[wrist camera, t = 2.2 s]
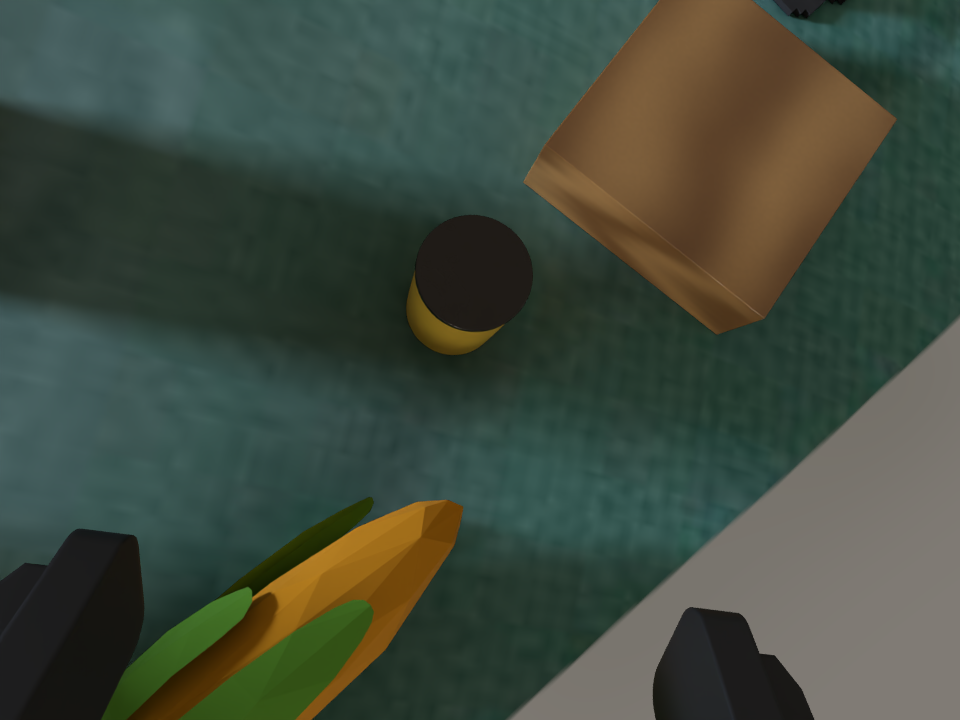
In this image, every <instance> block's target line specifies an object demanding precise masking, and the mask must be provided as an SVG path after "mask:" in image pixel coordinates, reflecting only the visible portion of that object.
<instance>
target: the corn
mask: <svg viewBox="0 0 960 720" xmlns="http://www.w3.org/2000/svg"><path fill="white" fill-rule="evenodd" d="M373 503H374V501H373V498H372V497H368V498H366V499H364V500H362V501H360V502H358V503H355V504H353V505H351V506H349V507H347V508H345V509H343V510H341V511H340V512H338V513H336V514H334V515H332V516H331V517H329V518H327V519H325V520H324V521H322V522H320V523H318V524H316V525H315V526H313V527H311V528H309V529H307V530H306V531H304V532H303V533H301V534H300V535H299V536H297V537H296V538H295V539H293V540H292V541H290V542H289V543H288V544H286V545H285V546H284V547H282V548H281V549H280V550H278V551H277V552H276V553H274V554H273V555H272V556H270V557H269V558H268V559H266V560H265V561H264V562H262V563H261V564H259V565H258V566H257V567H255V568H254V569H253V570H251V571H250V572H249V573H247V574H246V575H245V576H243V577H242V578H241V579H239V580H238V581H237V582H236V583H235V584H233V585H232V586H231V587H230V588H229V589H228V590H226V591H225V592H224V593H223V594H222V595H221V596H219V597H218V598H217V599H216V600H215V601H213V602H211V603H209V604H208V605H206V606H205V607H203V608H202V609H200V610H199V611H197V612H196V613H194V614H193V615H191V616H190V617H188V618H187V619H185V620H184V621H182V622H181V623H179V624H178V625H176V626H175V627H173V628H172V629H170V630H169V631H167V632H166V633H165V634H164V635H163V636H162V637H161V638H160V639H159V640H158V641H156V642H155V643H154V644H153V645H152V646H151V647H150V648H149V649H148V650H147V651H145V652H144V653H143V654H142V655H141V656H140V657H139V658H138V659H137V660H136V661H135V662H133V663H132V664H131V665H130V666H129V667H128V668H127V669H126V670H125V671H124V673H123V675H122V677H121V679H120V681H119V683H118V686H117V688H116V690H115V692H114V694H113V696H112V698H111V700H110V702H109V704H108V706H107V708H106V711H105V713H104V715H103V717H102V719H101V720H312V719H313V718H314V717H315V716H316V715H317V714H318V713H319V712H320V711H321V710H322V709H323V708H324V707H325V706H326V705H327V704H328V703H330V702H331V701H332V700H333V699H334V698H335V697H336V696H337V695H338V694H339V693H340V692H341V691H342V690H343V689H344V688H345V687H346V686H348V685H349V684H350V683H351V682H352V681H353V680H354V679H355V678H356V677H357V676H358V675H359V674H360V673H361V672H362V671H363V670H364V669H366V668H367V667H368V666H369V665H370V664H371V663H372V662H373V661H374V660H375V659H376V658H377V657H378V656H379V655H380V654H381V653H382V652H384V651H385V650H386V648H387V646H388V645H389V643H390V642H391V640H392V639H393V637H394V636H395V634H396V633H397V631H398V630H399V628H400V627H401V625H402V624H403V622H404V621H405V619H406V618H407V616H408V615H409V613H410V612H411V610H412V609H413V607H414V606H415V604H416V603H417V601H418V600H419V598H420V597H421V595H422V593H423V592H424V590H425V589H426V587H427V586H428V584H429V583H430V581H431V580H432V578H433V577H434V575H435V574H436V572H437V571H438V569H439V568H440V566H441V565H442V563H443V562H444V560H445V559H446V557H447V556H448V554H449V553H450V551H451V550H452V548H453V547H454V545H455V542H456V538H457V534H458V530H459V526H460V522H461V518H462V512H463V506H461V505H458V504H456V503H454V502H451V501H449V500H439V501H422V502H416V503H413V504H411V505H409V506H406V507H404V508H402V509H399V510H397V511H395V512H392V513H390V514H387V515H385V516H383V517H380V518H378V519H376V520H373V521H371V522H369V523H366V524H364V525H362V526H359V527H357V528H355V529H354V530H352V531H351V532H349V533H348V534H346V533H347V532H348V531H349V530H351V529H352V528H353V527H354V526H355V525H356V524H357V523H358V522H359V521H360V520H362V519H363V518H364V517H365V516H366V515H367V514H368V513H369V512H370V510H371V508H372V505H373ZM345 534H346V535H345ZM343 535H345V536H343ZM342 536H343V537H342Z"/></svg>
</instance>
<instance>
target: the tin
mask: <svg viewBox="0 0 960 720" xmlns="http://www.w3.org/2000/svg"><path fill="white" fill-rule="evenodd" d="M532 280H533V270H532V264H531V259H530V256H529V253H528V251H527V249H526V247H525V245H524V244H523V242H522V241H521V239H520V238H519V237H518V236H517V235H516V234H515V233H514V232H513V231H512V230H511V229H510V228H508V227H507V226H506V225H504V224H503V223H501V222H499V221H497V220H494V219H492V218H489V217H485V216H479V215H464V216H459V217H455V218H452V219H449V220H447V221H445V222H443V223H441V224H440V225H439V226H437V227H436V228H435V229H434V230H432V231H431V232H430V233H429V235H428V236H427V237H426V239H425V240H424V242H423V243H422V245H421V247H420V250H419V252H418V255H417V259H416V264H415V271H414V275H413V279H412V282H411V286H410V290H409V294H408V297H407V303H406V313H407V319H408V322H409V325H410V327H411V330H412V331H413V333H414V335H415V336H416V337H417V338H418V340H419V341H421V342H422V343H423V344H424V345H425V346H427V347H428V348H430V349H432V350H433V351H436V352H438V353H442V354H447V355H460V354H465V353H469V352H471V351H473V350H475V349H477V348H479V347H480V346H481V345H483V344H484V343H485V342H486V341H487V340H488V339H489V338H490V337H491V336H493V335H494V334H495V333H496V332H497V331H498V330H499V329H500V328H501V327H502V326H503V325H504V324H505V323H507V322H508V321H510V320H511V319H512V318H513V317H515V316H516V315H517V313H518V312H519V311H520V310H521V309H522V307H523V306H524V305H525V303H526V301H527V299H528V297H529V294H530V291H531V287H532Z"/></svg>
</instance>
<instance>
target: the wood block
mask: <svg viewBox="0 0 960 720" xmlns="http://www.w3.org/2000/svg"><path fill="white" fill-rule="evenodd" d="M896 120H897V119H896V118H895V117H894V116H893V115H892V114H890V113H889V112H888V111H887V110H885V109H884V108H883V107H882V106H881V105H879V104H878V103H877V102H876V101H874V100H873V99H872V98H871V97H870V96H868V95H867V94H866V93H865V92H863V91H862V90H861V89H860V88H859V87H857V86H856V85H855V84H854V83H852V82H851V81H850V80H849V79H848V78H846V77H845V76H844V75H843V74H841V73H840V72H839V71H838V70H837V69H835V68H834V67H833V66H832V65H830V64H829V63H828V62H827V61H826V60H824V59H823V58H822V57H821V56H819V55H818V54H817V53H816V52H815V51H813V50H812V49H811V48H810V47H808V46H807V45H806V44H805V43H804V42H802V41H801V40H800V39H799V38H798V37H796V36H795V35H794V34H793V33H791V32H790V31H789V30H788V29H787V28H785V27H784V26H783V25H782V24H780V23H779V22H778V21H777V20H776V19H774V18H773V17H772V16H771V15H769V14H768V13H767V12H766V11H765V10H763V9H762V8H761V7H760V6H758V5H757V4H756V3H755V2H754V1H752V0H659V1H658V3H657V4H656V5H655V6H654V8H653V9H652V10H651V11H650V13H649V14H648V15H647V16H646V18H645V19H644V20H643V21H642V23H641V24H640V25H639V26H638V28H637V29H636V30H635V32H634V33H633V34H632V35H631V37H630V38H629V39H628V40H627V42H626V43H625V44H624V45H623V47H622V48H621V49H620V50H619V52H618V53H617V54H616V55H615V57H614V58H613V59H612V61H611V62H610V63H609V64H608V66H607V67H606V68H605V69H604V71H603V72H602V73H601V74H600V76H599V77H598V78H597V79H596V81H595V82H594V83H593V84H592V86H591V87H590V88H589V89H588V91H587V92H586V93H585V95H584V96H583V97H582V98H581V100H580V101H579V102H578V103H577V105H576V106H575V107H574V108H573V110H572V111H571V112H570V113H569V115H568V116H567V117H566V118H565V120H564V121H563V122H562V123H561V125H560V126H559V127H558V129H557V130H556V131H555V132H554V134H553V135H552V136H551V137H550V139H549V140H548V141H547V142H546V144H545V145H544V147H543V149H542V150H541V152H540V154H539V156H538V157H537V159H536V161H535V162H534V164H533V166H532V168H531V169H530V171H529V173H528V175H527V176H526V178H525V180H524V183H525V184H526V185H527V186H529V187H530V188H531V189H533V190H534V191H535V192H536V193H538V194H539V195H540V196H541V197H543V198H544V199H545V200H547V201H548V202H549V203H550V204H552V205H553V206H554V207H555V208H557V209H558V210H559V211H560V212H562V213H563V214H564V215H566V216H567V217H568V218H569V219H571V220H572V221H573V222H574V223H576V224H577V225H578V226H579V227H581V228H582V229H583V230H585V231H586V232H587V233H588V234H590V235H591V236H592V237H593V238H595V239H596V240H597V241H599V242H600V243H601V244H602V245H604V246H605V247H606V248H607V249H609V250H610V251H611V252H612V253H614V254H615V255H616V256H618V257H619V258H620V259H621V260H623V261H624V262H625V263H626V264H628V265H629V266H630V267H631V268H633V269H634V270H635V271H637V272H638V273H639V274H640V275H642V276H643V277H644V278H645V279H647V280H648V281H649V282H651V283H652V284H653V285H654V286H656V287H657V288H658V289H659V290H661V291H662V292H663V293H664V294H666V295H667V296H668V297H670V298H671V299H672V300H673V301H675V302H676V303H677V304H678V305H680V306H681V307H682V308H683V309H685V310H686V311H687V312H689V313H690V314H691V315H692V316H694V317H695V318H696V319H697V320H699V321H700V322H701V323H703V324H704V325H705V326H706V327H708V328H709V329H710V330H711V331H713V332H714V333H715V334H717V335H718V334H720V333H723V332H726V331H729V330H732V329H735V328H738V327H741V326H744V325H747V324H750V323H753V322H756V321H759V320H762V319H764V318H765V317H766V316H767V314H768V313H769V311H770V310H771V308H772V307H773V305H774V304H775V302H776V301H777V299H778V298H779V296H780V295H781V293H782V292H783V290H784V289H785V287H786V286H787V284H788V283H789V281H790V280H791V278H792V277H793V275H794V274H795V272H796V271H797V269H798V268H799V266H800V265H801V263H802V262H803V260H804V259H805V257H806V256H807V254H808V253H809V251H810V250H811V248H812V246H813V245H814V243H815V242H816V240H817V239H818V237H819V236H820V234H821V233H822V231H823V230H824V228H825V227H826V225H827V224H828V222H829V221H830V219H831V218H832V216H833V215H834V213H835V212H836V210H837V209H838V207H839V206H840V204H841V203H842V201H843V200H844V198H845V197H846V195H847V194H848V192H849V191H850V189H851V188H852V186H853V185H854V183H855V182H856V180H857V179H858V177H859V176H860V174H861V173H862V171H863V170H864V168H865V167H866V165H867V164H868V162H869V161H870V159H871V158H872V156H873V155H874V153H875V152H876V150H877V149H878V147H879V146H880V144H881V143H882V141H883V140H884V138H885V137H886V135H887V134H888V132H889V131H890V129H891V128H892V126H893V125H894V123H895V122H896Z"/></svg>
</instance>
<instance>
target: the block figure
mask: <svg viewBox="0 0 960 720" xmlns="http://www.w3.org/2000/svg"><path fill="white" fill-rule="evenodd" d="M774 1H775V2H776V3H777V4H778V5H779V7H780V8H781V9H782V10H783V11H784V12H785V13H786V14H787V15H788V16H789V15H790V14H791V13H792V12H793V13H794V14H795V15H796V16H797V17H798V16H799V15H800V14H801V13H802V14H803V15H804V16H805V18H807V17H808V16H809V15H811V14H812V13H813V12H814V11H815V10H816V9H817V8H818V7H819V6H820V5H821V4H822V3H824V2H825V1H826V0H774ZM829 1H830V2H831V3H832V4H833V3H834V2H835V1H836V0H829ZM837 1H838V2H839V3H840V4H843V3H844V2H845V1H846V0H837Z"/></svg>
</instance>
